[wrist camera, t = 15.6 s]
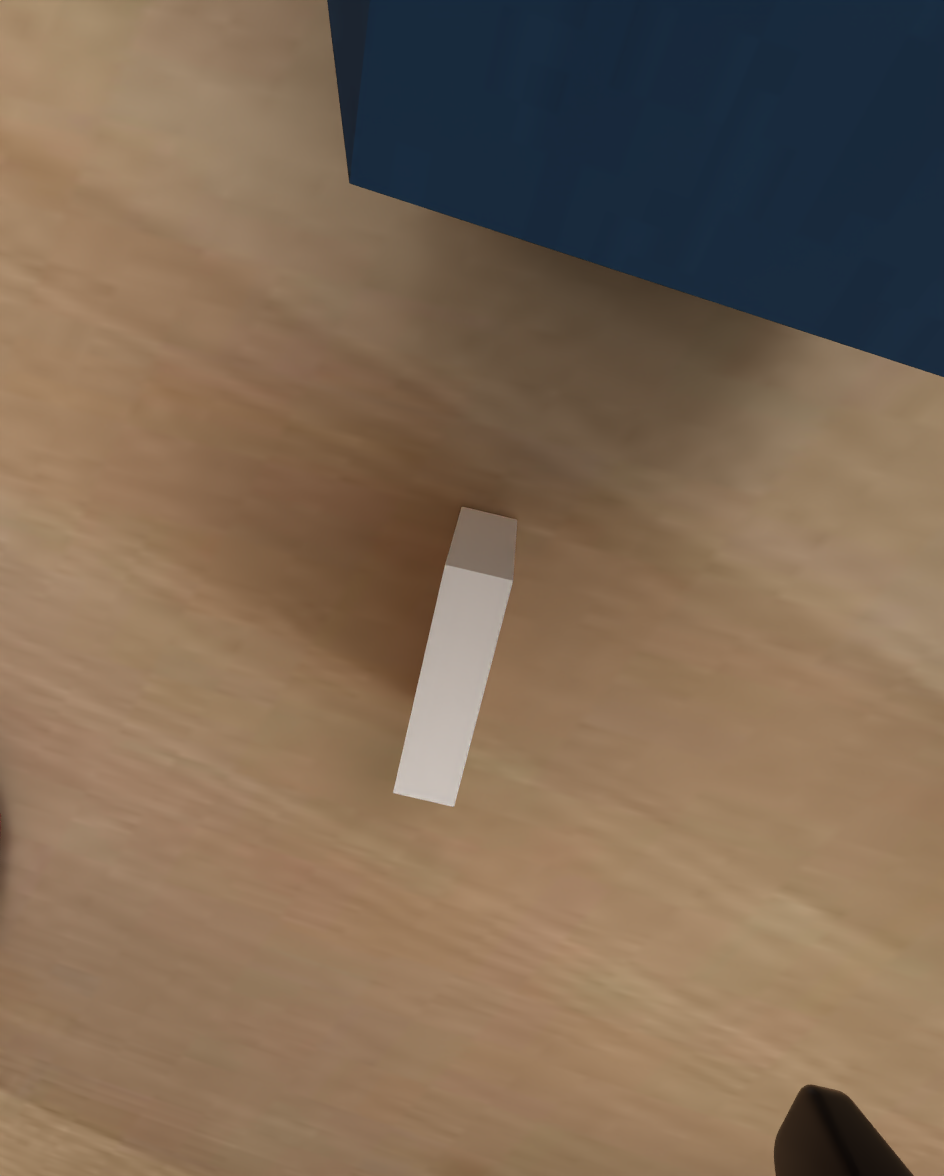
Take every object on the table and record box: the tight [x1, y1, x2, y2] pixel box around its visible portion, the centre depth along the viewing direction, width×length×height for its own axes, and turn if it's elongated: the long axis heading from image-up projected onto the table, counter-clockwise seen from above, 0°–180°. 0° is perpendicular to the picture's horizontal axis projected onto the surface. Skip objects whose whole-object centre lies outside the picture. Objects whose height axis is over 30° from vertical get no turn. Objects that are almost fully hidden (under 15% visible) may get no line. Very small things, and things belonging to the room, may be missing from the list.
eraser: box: [393, 507, 517, 807], centre depth 18 cm, size 1×5×4 cm, turn 167°
